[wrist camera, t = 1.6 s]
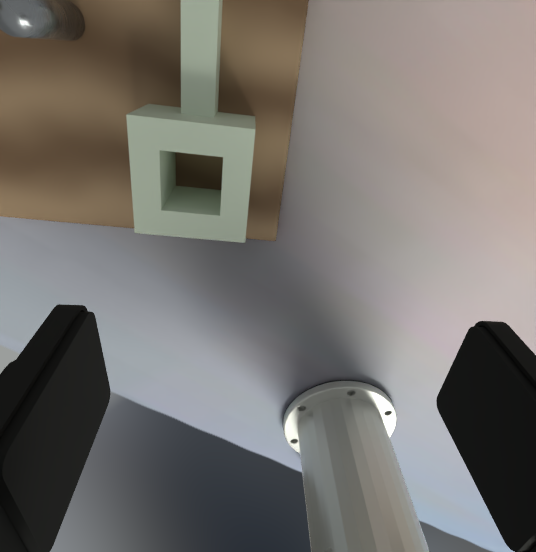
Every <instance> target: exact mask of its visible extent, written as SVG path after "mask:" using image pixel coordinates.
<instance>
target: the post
mask: <svg viewBox="0 0 536 552" xmlns="http://www.w3.org/2000/svg"><path fill="white" fill-rule="evenodd" d="M0 29H1V30H2V31H3V32H5V33H6V34H8V35H10V36H13V37H22V38H38V39H53V40H68V41H75V40H78V39H79V38H81V37H82V35H83V34H84V31H85V20H84V17H83V14H82V12H81V11H80V9H79V8H78V7H77V6H76V5H75V4H73V3H72V2H70V1H67V0H0Z"/></svg>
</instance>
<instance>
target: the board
mask: <svg viewBox="0 0 536 552" xmlns="http://www.w3.org/2000/svg"><path fill="white" fill-rule="evenodd" d="M67 1H70V2H72V3H73V4H75V5H76V6H77V7H78V8H79V9H80V11H81V12H82V14H83V17H84V20H85V31H84V34H83V35H82V37H81V38H79V39H78V40H75V41H68V40H53V39H38V38H22V37H13V36H10V35H8V34H6V33H5V32H3V31H2V30H1V29H0V216H4V217H15V218H26V219H37V220H48V221H59V222H70V223H81V224H92V225H103V226H114V227H125V228H134V216H133V202H132V188H131V174H130V160H129V146H128V132H127V118H126V114H128V113H130V112H133V111H135V110H137V109H139V108H141V107H143V106H145V105H147V104H155V105H163V106H172V107H180V108H181V0H67ZM308 1H309V0H223V1H222V25H221V48H220V71H219V94H218V112H223V113H231V114H240V115H248V116H255V129H256V130H255V140H254V151H253V162H252V173H251V184H250V195H249V206H248V216H247V227H246V238H247V239H258V240H269V241H276V234H277V227H278V220H279V213H280V205H281V198H282V191H283V183H284V176H285V169H286V162H287V154H288V147H289V140H290V132H291V125H292V118H293V111H294V103H295V96H296V89H297V81H298V74H299V67H300V60H301V52H302V45H303V38H304V30H305V23H306V16H307V9H308ZM175 158H176V186H184V187H194V188H204V189H214V190H221V189H222V170H223V157H217V156H208V155H198V154H189V153H180V152H175Z"/></svg>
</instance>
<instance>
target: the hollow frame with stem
mask: <svg viewBox="0 0 536 552" xmlns="http://www.w3.org/2000/svg"><path fill="white" fill-rule="evenodd" d="M222 1H223V0H181V108H180V107H172V106H163V105H155V104H147V105H145V106H143V107H141V108H139V109H137V110H135V111H133V112H130V113H128V114H126V118H127V132H128V146H129V160H130V174H131V188H132V202H133V216H134V230H135V233H139V234H150V235H162V236H173V237H184V238H195V239H207V240H218V241H229V242H240V243H245V238H246V227H247V216H248V206H249V195H250V184H251V173H252V162H253V151H254V140H255V130H256V129H255V116H248V115H240V114H231V113H223V112H218V94H219V71H220V48H221V25H222ZM175 152H180V153H189V154H198V155H208V156H217V157H223V170H222V189H221V190H214V189H204V188H194V187H184V186H176V158H175Z"/></svg>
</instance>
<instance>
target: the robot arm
mask: <svg viewBox="0 0 536 552" xmlns="http://www.w3.org/2000/svg"><path fill="white" fill-rule="evenodd" d="M109 399H110V386H109V381H108V376H107V372H106V367H105V362H104V357H103V352H102V347H101V343H100V338H99V333H98V328H97V323H96V318H95V315H94V313H93V312H88V311H87V308H86V307H85V306H83V305H57V306H56V307H55V308H54V309H53V310H52V311H51V313H50V314H49V316H48V317H47V318H46V320H45V321H44V322H43V324H42V325H41V326H40V328H39V329H38V331H37V332H36V333H35V335H34V336H33V337H32V339H31V340H30V341H29V343H28V344H27V346H26V347H25V348H24V350H23V351H22V352H21V354H20V355H19V356H18V358H17V359H16V360H15V361H13V362H11V363H9V364H8V366H7V367H6V368H5V369H4V370H3V371H2V373H1V374H0V552H50V550H51V549H52V546H53V544H54V542H55V539H56V536H57V534H58V531H59V529H60V526H61V524H62V521H63V519H64V516H65V514H66V511H67V509H68V506H69V503H70V501H71V498H72V495H73V493H74V491H75V488H76V485H77V483H78V480H79V477H80V475H81V473H82V470H83V468H84V465H85V462H86V460H87V457H88V455H89V452H90V450H91V447H92V444H93V442H94V439H95V437H96V434H97V432H98V429H99V427H100V424H101V421H102V419H103V416H104V414H105V411H106V409H107V406H108V403H109ZM437 408H438V411H439V413H440V415H441V417H442V419H443V421H444V423H445V425H446V427H447V429H448V431H449V433H450V435H451V437H452V439H453V441H454V443H455V445H456V447H457V449H458V451H459V453H460V455H461V457H462V458H463V460H464V462H465V464H466V466H467V468H468V470H469V472H470V474H471V476H472V478H473V480H474V482H475V484H476V486H477V488H478V490H479V492H480V494H481V496H482V498H483V500H484V502H485V504H486V506H487V508H488V510H489V512H490V514H491V516H492V518H493V520H494V522H495V524H496V526H497V528H498V530H499V532H500V534H501V535H502V537H503V539H504V541H505V543H506V545H507V546H508V547H509V548H510V549H511V550H513V551H515V552H536V355H535V354H534V353H533V352H532V351H531V350H530V349H529V348H528V346H527V345H526V344H525V343H524V342H523V341H522V340H521V339H520V338H519V336H518V335H517V334H516V333H515V332H514V331H513V330H512V329H511V328H510V327H509V325H507V324H506V323H504V322H492V321H480V322H478V323H476V324H475V326H474V327H471V328H470V329H469V330H468V332H467V334H466V336H465V338H464V341H463V343H462V345H461V347H460V349H459V351H458V353H457V356H456V358H455V360H454V362H453V364H452V366H451V368H450V371H449V373H448V375H447V377H446V379H445V381H444V383H443V385H442V388H441V390H440V392H439V394H438V396H437ZM395 425H396V412H395V409H394V406H393V404H392V402H391V400H390V398H389V397H388V396H387V395H386V394H385V393H384V392H383V391H381V390H380V389H378V388H376V387H374V386H372V385H370V384H366V383H362V382H355V381H336V382H330V383H325V384H322V385H319V386H316V387H314V388H311V389H309V390H307V391H305V392H304V393H303V394H301V395H300V396H298V397H297V398H296V399H295V400H294V401H293V402H292V403H291V404H290V406H289V407H288V409H287V410H286V412H285V415H284V420H283V428H284V435H285V438H286V440H287V442H288V443H289V445H290V446H291V447H292V448H293V449H294V450H296V451H297V452H299V453H300V456H301V465H302V474H303V482H304V491H305V500H306V508H307V517H308V525H309V534H310V543H311V551H312V552H430V551H429V548H428V546H427V543H426V540H425V537H424V534H423V531H422V529H421V526H420V523H419V520H418V517H417V514H416V511H415V509H414V506H413V503H412V500H411V497H410V494H409V492H408V489H407V486H406V483H405V480H404V477H403V475H402V472H401V469H400V466H399V463H398V460H397V458H396V455H395V452H394V449H393V446H392V443H391V441H390V438H389V437H390V436H391V434H392V433H393V431H394V429H395Z"/></svg>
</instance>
